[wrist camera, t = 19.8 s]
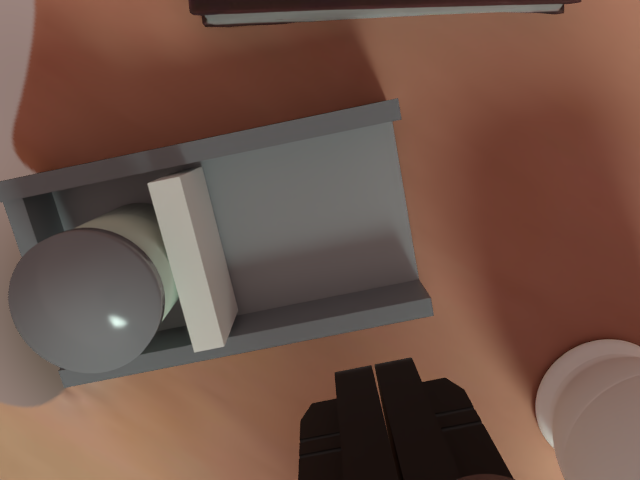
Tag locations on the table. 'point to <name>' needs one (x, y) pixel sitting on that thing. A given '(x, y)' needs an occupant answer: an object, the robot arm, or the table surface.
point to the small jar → (95, 291)
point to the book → (352, 9)
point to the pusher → (195, 256)
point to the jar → (593, 410)
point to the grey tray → (263, 228)
